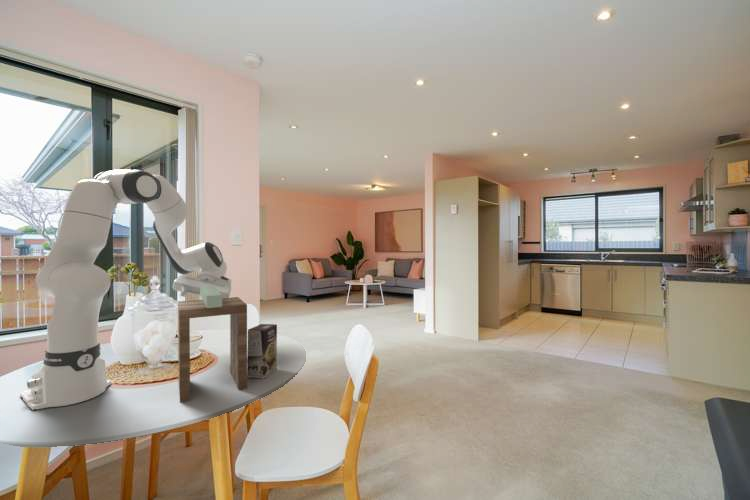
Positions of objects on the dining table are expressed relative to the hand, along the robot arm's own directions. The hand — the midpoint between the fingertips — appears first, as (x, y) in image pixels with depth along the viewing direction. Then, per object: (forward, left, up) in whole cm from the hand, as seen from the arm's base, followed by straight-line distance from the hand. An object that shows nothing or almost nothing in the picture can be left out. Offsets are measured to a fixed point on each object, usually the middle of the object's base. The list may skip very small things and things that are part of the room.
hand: (196, 297), depth 124 cm
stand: (+20, -10, -25) cm, 33 cm away
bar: (+16, -8, +1) cm, 18 cm away
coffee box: (+27, +4, -25) cm, 37 cm away
